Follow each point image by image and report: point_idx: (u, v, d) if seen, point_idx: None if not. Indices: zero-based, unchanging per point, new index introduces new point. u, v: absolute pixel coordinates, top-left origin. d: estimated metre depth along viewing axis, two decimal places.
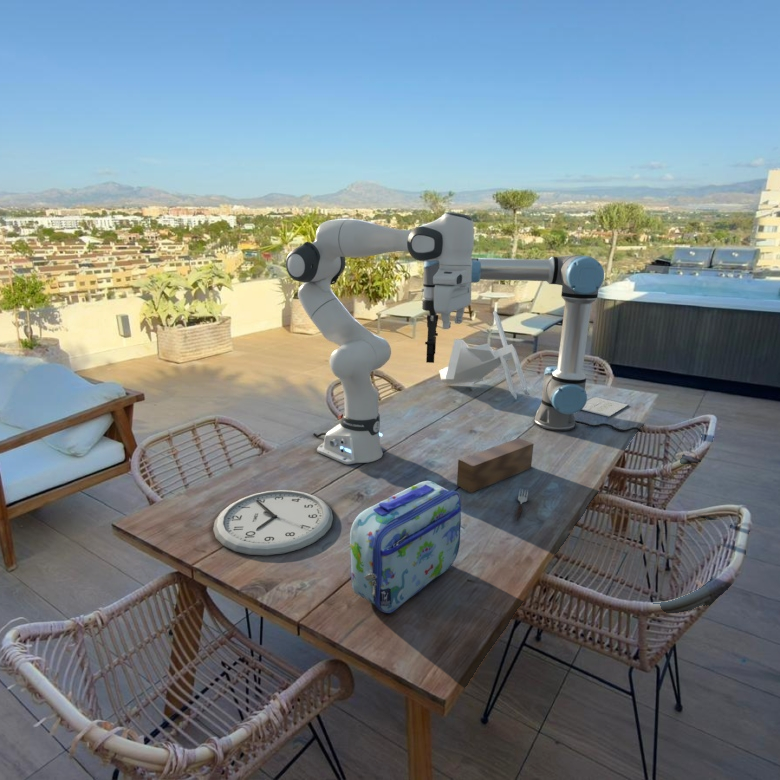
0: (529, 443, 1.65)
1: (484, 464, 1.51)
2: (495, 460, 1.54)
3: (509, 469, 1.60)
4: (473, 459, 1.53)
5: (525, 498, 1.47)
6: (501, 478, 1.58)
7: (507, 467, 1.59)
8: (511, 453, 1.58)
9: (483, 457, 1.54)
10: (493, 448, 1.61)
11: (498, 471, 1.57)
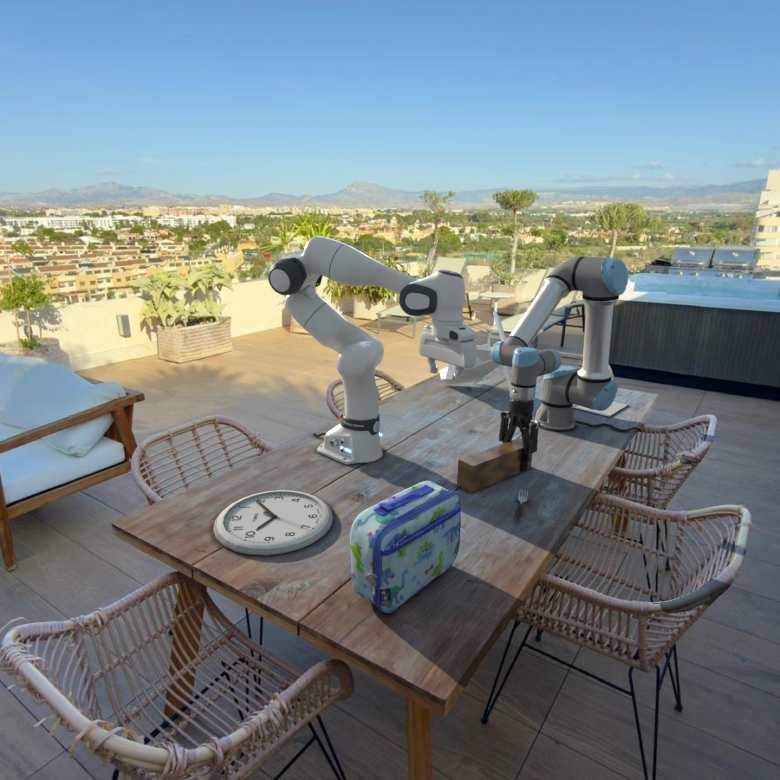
0: None
1: (484, 464, 1.51)
2: (495, 460, 1.54)
3: (509, 469, 1.60)
4: (473, 459, 1.53)
5: (525, 498, 1.47)
6: (501, 478, 1.58)
7: (507, 467, 1.59)
8: (511, 453, 1.58)
9: (483, 457, 1.54)
10: (493, 448, 1.61)
11: (498, 471, 1.57)
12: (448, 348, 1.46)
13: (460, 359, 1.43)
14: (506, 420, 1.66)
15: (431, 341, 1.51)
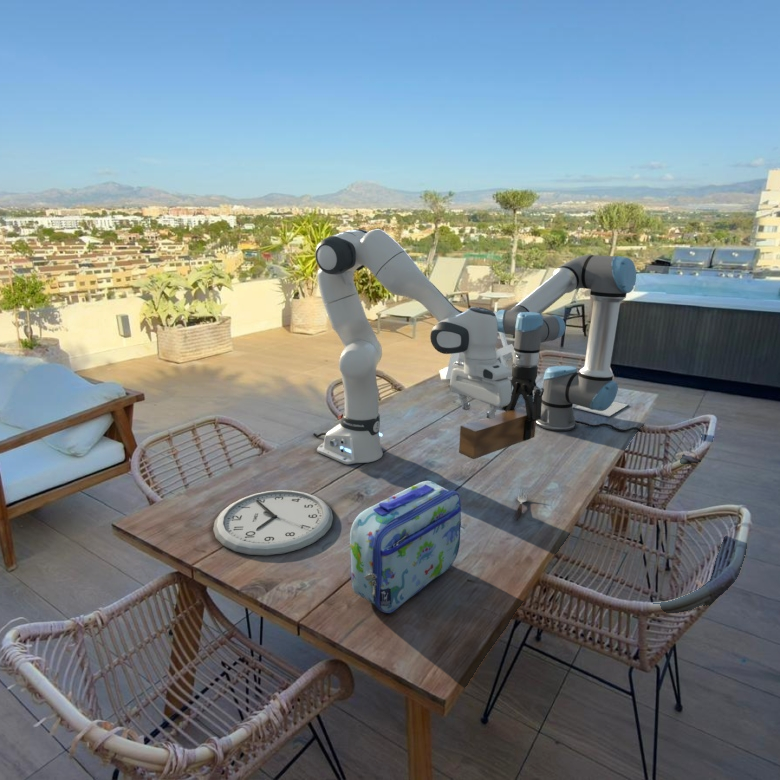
0: None
1: (486, 430, 1.48)
2: (498, 427, 1.51)
3: (512, 437, 1.57)
4: (476, 425, 1.50)
5: (525, 498, 1.47)
6: (504, 446, 1.55)
7: (510, 435, 1.56)
8: (514, 420, 1.55)
9: (485, 423, 1.51)
10: (496, 416, 1.57)
11: (501, 438, 1.54)
12: (481, 386, 1.44)
13: (495, 397, 1.40)
14: None
15: (463, 378, 1.49)
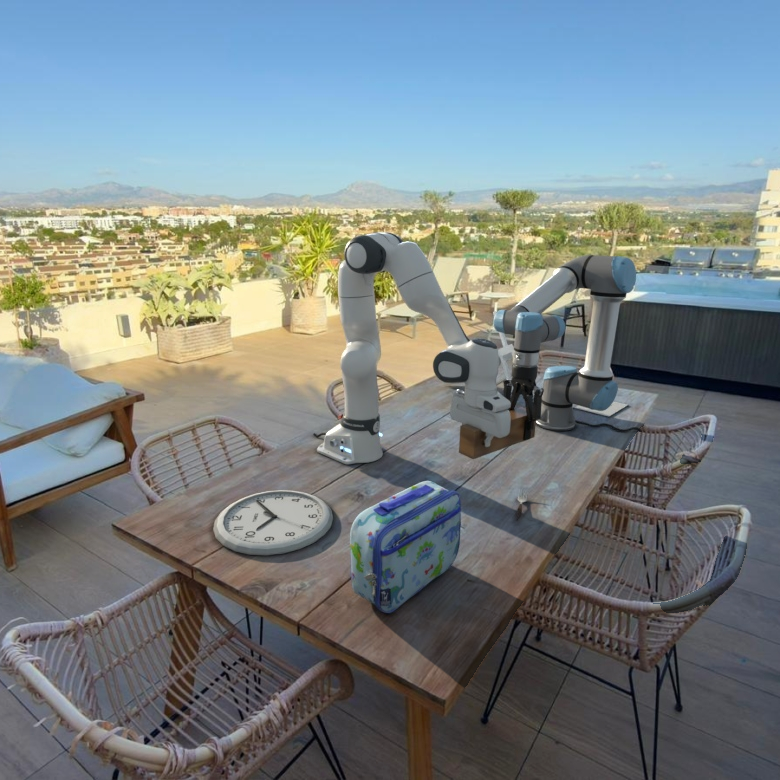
0: None
1: None
2: None
3: (512, 437, 1.57)
4: None
5: (525, 498, 1.47)
6: (504, 446, 1.55)
7: (510, 435, 1.56)
8: (514, 420, 1.55)
9: None
10: None
11: (501, 438, 1.54)
12: (481, 416, 1.46)
13: (495, 428, 1.42)
14: (509, 388, 1.63)
15: (463, 407, 1.51)
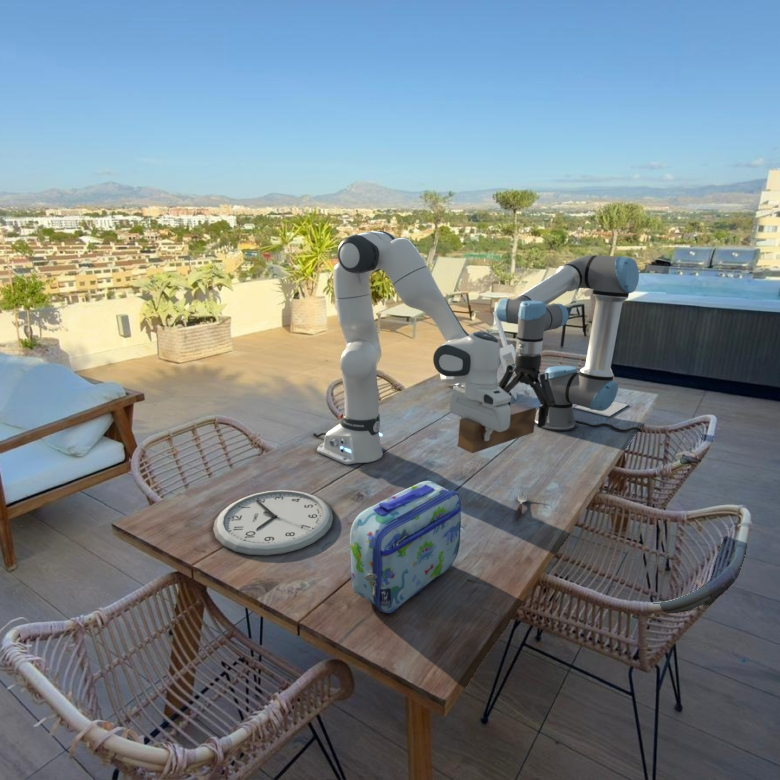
0: (532, 407, 1.61)
1: None
2: None
3: (512, 432, 1.57)
4: None
5: (525, 498, 1.47)
6: (503, 441, 1.55)
7: (509, 430, 1.56)
8: (514, 415, 1.55)
9: None
10: None
11: (500, 433, 1.53)
12: (481, 410, 1.46)
13: (494, 422, 1.42)
14: (510, 373, 1.63)
15: (463, 400, 1.51)
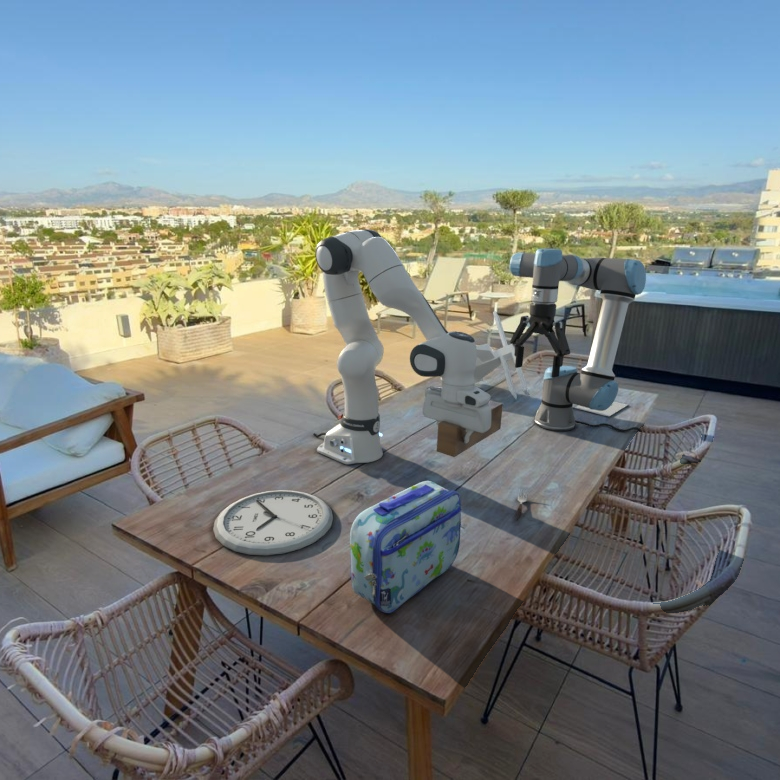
0: (498, 403, 1.61)
1: None
2: None
3: None
4: None
5: (525, 498, 1.47)
6: (478, 440, 1.53)
7: None
8: None
9: None
10: None
11: (476, 433, 1.50)
12: (461, 412, 1.41)
13: (477, 423, 1.39)
14: (524, 325, 1.62)
15: (439, 403, 1.45)
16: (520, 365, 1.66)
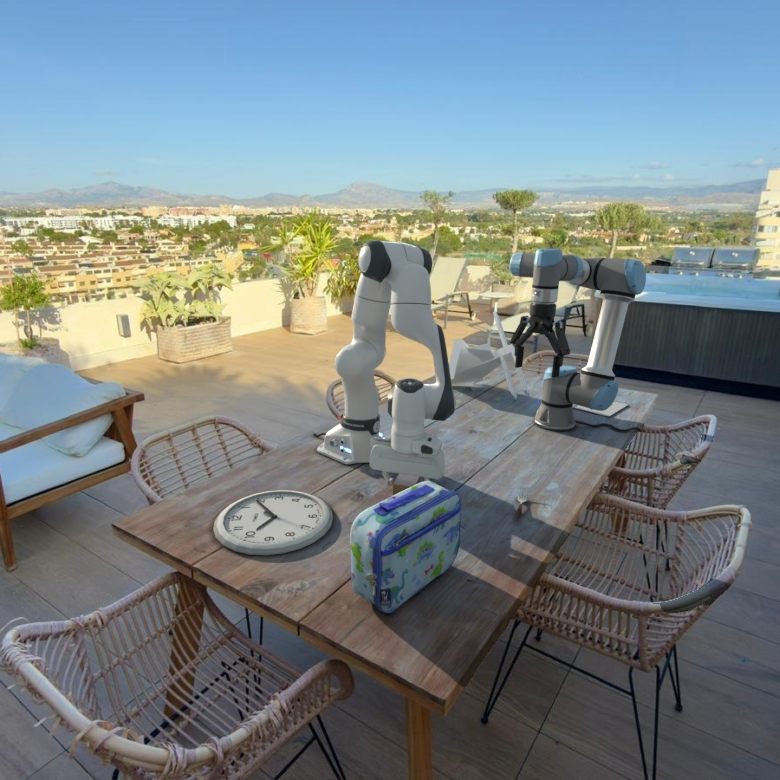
0: None
1: (418, 481, 1.40)
2: None
3: None
4: (406, 479, 1.40)
5: (525, 498, 1.47)
6: None
7: None
8: None
9: None
10: None
11: None
12: (414, 461, 1.37)
13: (433, 471, 1.36)
14: (524, 325, 1.62)
15: (388, 454, 1.39)
16: (520, 365, 1.66)
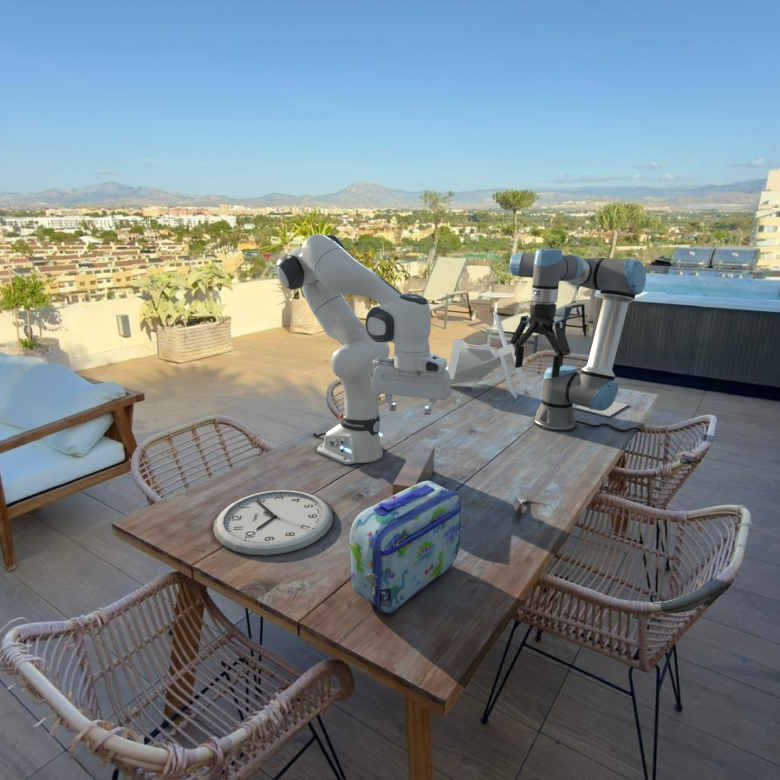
0: (431, 447, 1.61)
1: (418, 481, 1.40)
2: (422, 474, 1.45)
3: (426, 478, 1.53)
4: (405, 479, 1.40)
5: (525, 498, 1.47)
6: None
7: (425, 477, 1.52)
8: (427, 462, 1.51)
9: (411, 474, 1.43)
10: (408, 461, 1.50)
11: None
12: (419, 381, 1.30)
13: (439, 390, 1.29)
14: (524, 325, 1.62)
15: (391, 376, 1.32)
16: (520, 365, 1.66)
